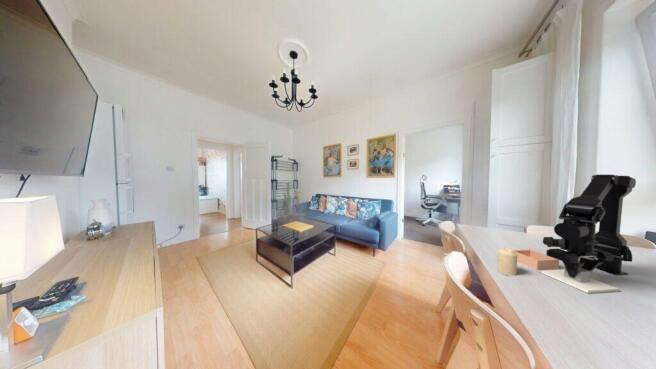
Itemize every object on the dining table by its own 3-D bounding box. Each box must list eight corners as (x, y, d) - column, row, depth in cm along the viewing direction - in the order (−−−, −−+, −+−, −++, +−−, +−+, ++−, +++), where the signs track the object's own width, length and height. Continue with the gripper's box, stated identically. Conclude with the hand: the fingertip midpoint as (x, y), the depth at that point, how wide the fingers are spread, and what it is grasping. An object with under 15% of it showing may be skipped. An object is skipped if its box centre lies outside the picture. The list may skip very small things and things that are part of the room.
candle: (520, 277, 68) (521, 252, 67) (503, 276, 69) (505, 251, 68) (508, 270, 73) (510, 246, 73) (493, 268, 74) (494, 245, 74)
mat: (566, 271, 72) (566, 270, 72) (622, 293, 59) (622, 291, 59) (538, 273, 71) (538, 272, 71) (588, 295, 58) (588, 294, 58)
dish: (529, 258, 83) (529, 249, 83) (558, 270, 73) (559, 259, 73) (510, 259, 82) (510, 250, 82) (536, 271, 72) (537, 260, 72)
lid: (567, 271, 71) (568, 259, 71) (618, 290, 59) (619, 277, 59) (541, 272, 70) (542, 261, 70) (587, 292, 58) (589, 279, 58)
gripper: (570, 228, 72) (567, 264, 73) (530, 229, 71) (527, 266, 72) (617, 238, 61) (612, 280, 62) (570, 239, 60) (566, 283, 61)
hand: (576, 276), depth 65 cm, fingers closed on lid, 4 cm apart
